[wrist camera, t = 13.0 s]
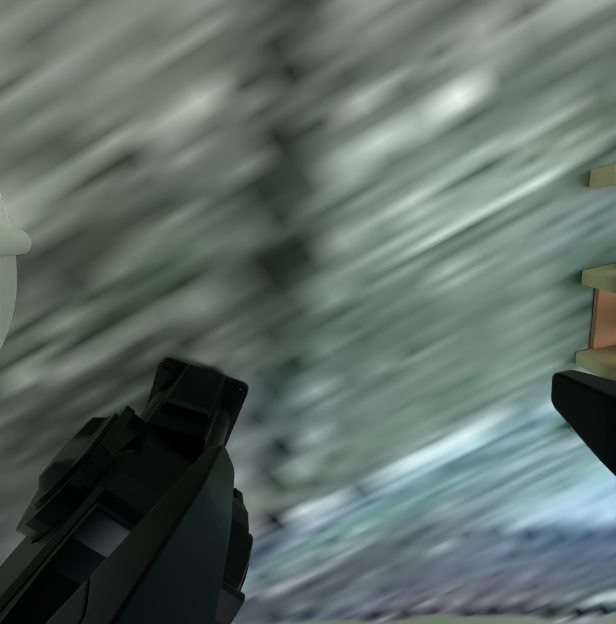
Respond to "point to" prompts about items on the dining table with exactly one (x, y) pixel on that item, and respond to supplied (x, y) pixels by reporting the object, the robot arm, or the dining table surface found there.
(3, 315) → the dome cover
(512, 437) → the dining table surface
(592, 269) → the rack
